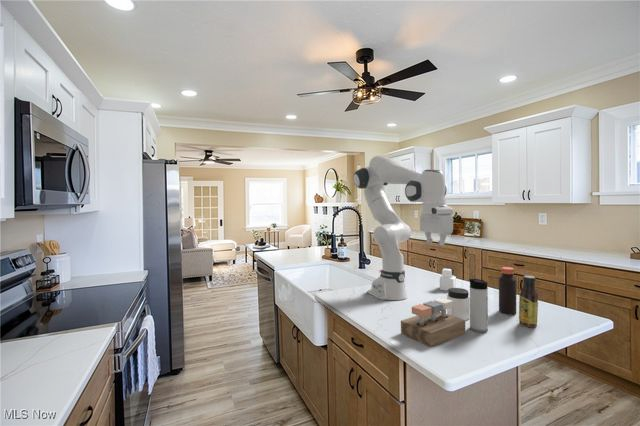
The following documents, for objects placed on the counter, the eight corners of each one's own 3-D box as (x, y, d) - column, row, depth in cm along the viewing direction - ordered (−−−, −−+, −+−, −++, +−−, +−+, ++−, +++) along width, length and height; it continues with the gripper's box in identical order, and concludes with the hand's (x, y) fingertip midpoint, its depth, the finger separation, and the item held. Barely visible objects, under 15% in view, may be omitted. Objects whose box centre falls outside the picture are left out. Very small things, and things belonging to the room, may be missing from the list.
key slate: (423, 322, 122) (423, 303, 121) (431, 319, 124) (431, 300, 124) (434, 326, 118) (434, 306, 117) (442, 323, 120) (442, 304, 120)
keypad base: (401, 333, 122) (400, 320, 121) (434, 321, 132) (434, 310, 132) (431, 347, 110) (431, 333, 110) (465, 333, 121) (465, 320, 120)
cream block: (434, 318, 125) (434, 300, 125) (442, 316, 128) (442, 297, 128) (445, 322, 121) (445, 303, 121) (453, 319, 124) (453, 300, 123)
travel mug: (465, 326, 126) (465, 277, 126) (481, 326, 127) (481, 276, 126) (474, 333, 120) (474, 281, 119) (491, 332, 121) (491, 280, 120)
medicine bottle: (443, 287, 184) (442, 266, 184) (456, 288, 180) (455, 267, 179) (439, 290, 178) (439, 268, 178) (453, 291, 174) (452, 270, 174)
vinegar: (500, 314, 139) (500, 269, 138) (497, 309, 146) (497, 266, 145) (518, 315, 137) (518, 270, 136) (514, 310, 143) (514, 267, 142)
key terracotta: (411, 326, 118) (411, 306, 118) (420, 323, 121) (420, 304, 121) (422, 330, 114) (422, 310, 114) (431, 327, 117) (431, 307, 116)
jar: (460, 323, 130) (460, 294, 130) (443, 317, 137) (443, 290, 137) (473, 318, 135) (473, 290, 135) (455, 312, 142) (455, 286, 142)
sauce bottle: (515, 322, 130) (515, 274, 129) (530, 321, 130) (531, 274, 129) (525, 328, 124) (525, 278, 123) (541, 328, 123) (541, 278, 123)
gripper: (415, 209, 136) (416, 241, 136) (440, 209, 116) (441, 247, 116) (429, 209, 137) (430, 241, 137) (455, 209, 117) (457, 246, 117)
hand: (435, 244), depth 127 cm, fingers open, 8 cm apart
